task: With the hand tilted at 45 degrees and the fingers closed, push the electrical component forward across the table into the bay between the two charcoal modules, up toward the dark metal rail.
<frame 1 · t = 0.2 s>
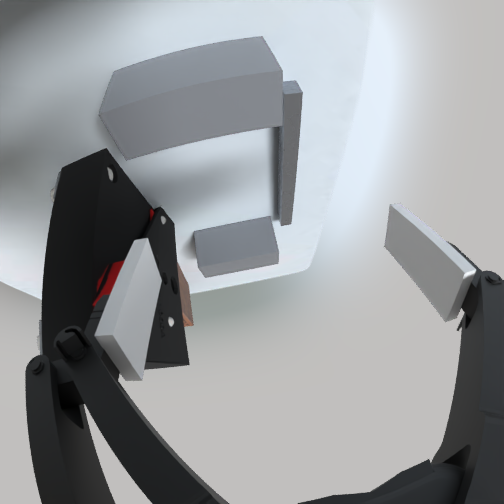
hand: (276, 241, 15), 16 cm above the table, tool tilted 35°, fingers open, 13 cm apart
module 2: (191, 73, 20), on the table
tissue box cover: (127, 280, 59), on the table
electrical component: (119, 199, 33), on the table
metal rail: (285, 163, 33), on the table
module 1: (233, 231, 46), on the table
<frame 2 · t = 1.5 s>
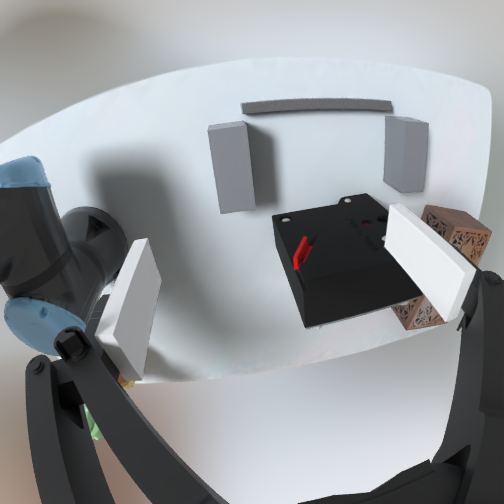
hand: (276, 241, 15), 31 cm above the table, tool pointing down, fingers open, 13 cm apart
module 2: (230, 160, 42), on the table
potted cactus: (110, 347, 61), on the table
tissue box cover: (427, 257, 58), on the table
electrical component: (321, 222, 50), on the table
metal rail: (319, 102, 39), on the table
module 1: (396, 149, 44), on the table
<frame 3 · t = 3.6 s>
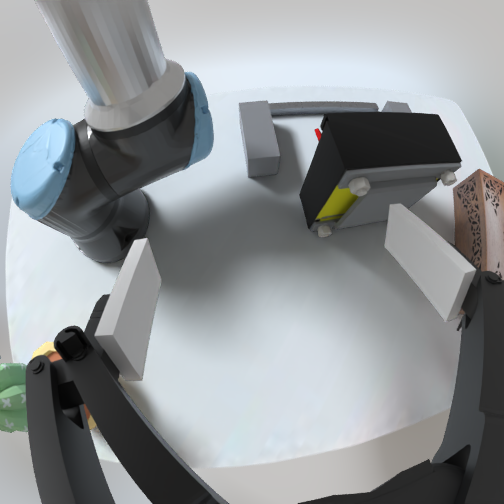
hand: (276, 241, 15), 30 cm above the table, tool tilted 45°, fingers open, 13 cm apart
module 2: (257, 147, 49), on the table
potted cactus: (86, 381, 40), on the table
tissue box cover: (476, 254, 46), on the table
electrical component: (351, 204, 47), on the table
metal rail: (323, 110, 52), on the table
module 1: (396, 141, 50), on the table
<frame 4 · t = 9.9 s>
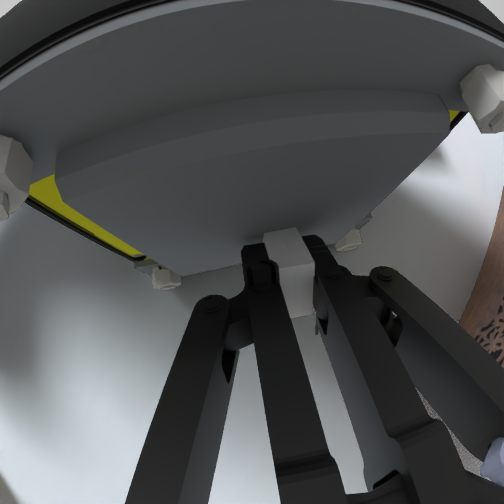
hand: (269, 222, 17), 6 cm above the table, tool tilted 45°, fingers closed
electrical component: (246, 213, 23), on the table, touching gripper
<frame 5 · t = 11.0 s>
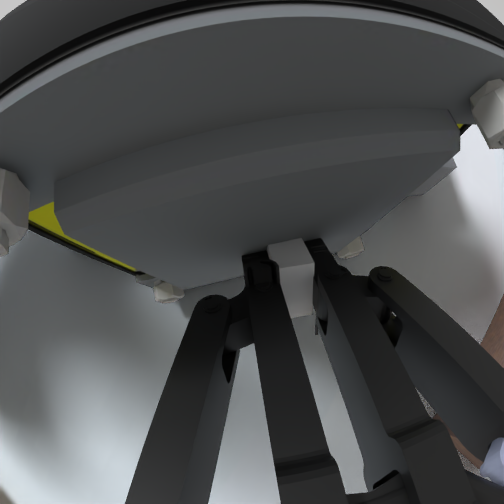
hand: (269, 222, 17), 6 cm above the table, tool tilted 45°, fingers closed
electrical component: (247, 222, 23), on the table, touching gripper
module 1: (383, 142, 25), on the table
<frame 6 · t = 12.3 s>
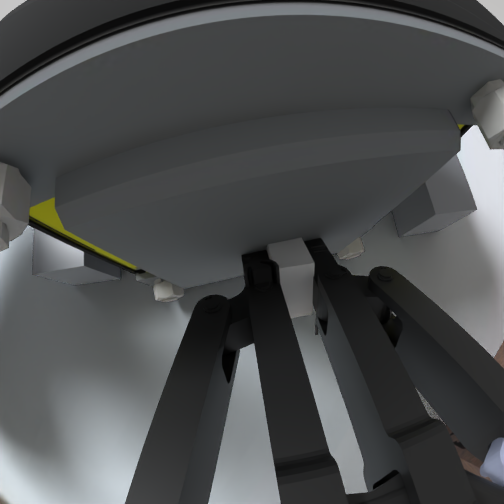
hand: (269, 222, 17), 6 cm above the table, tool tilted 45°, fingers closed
module 2: (95, 216, 23), on the table
electrical component: (247, 221, 23), on the table, touching gripper
module 1: (401, 174, 24), on the table
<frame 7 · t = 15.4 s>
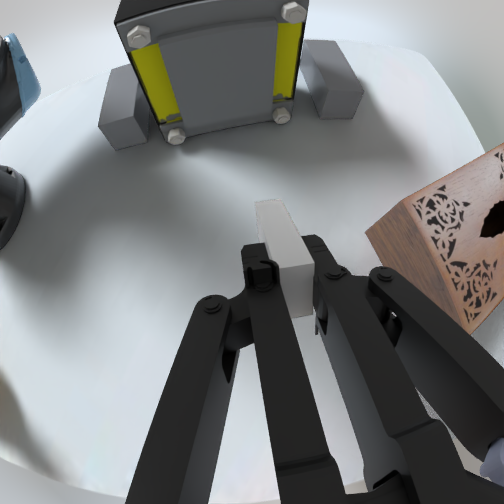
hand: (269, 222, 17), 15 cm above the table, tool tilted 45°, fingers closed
module 2: (134, 115, 37), on the table
tissue box cover: (454, 240, 32), on the table
electrical component: (224, 111, 37), on the table
module 1: (324, 90, 38), on the table
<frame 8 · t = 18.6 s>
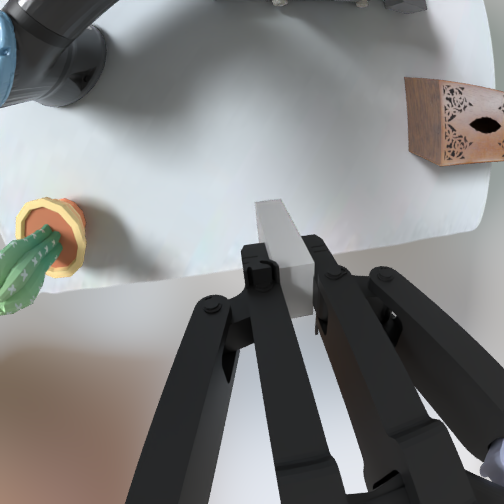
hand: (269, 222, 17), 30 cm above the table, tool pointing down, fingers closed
potted cactus: (66, 220, 46), on the table
tissue box cover: (452, 114, 42), on the table
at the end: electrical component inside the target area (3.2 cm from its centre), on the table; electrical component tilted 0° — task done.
